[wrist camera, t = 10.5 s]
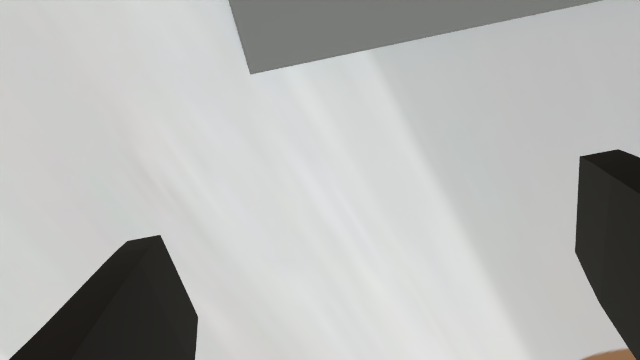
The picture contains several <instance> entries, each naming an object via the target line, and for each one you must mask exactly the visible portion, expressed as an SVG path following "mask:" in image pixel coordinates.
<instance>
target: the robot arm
mask: <svg viewBox="0 0 640 360" xmlns="http://www.w3.org/2000/svg"><path fill="white" fill-rule="evenodd" d="M575 253H576V255H577V257H578V259H579V261H580V263H581V266H582V268H583V270H584V272H585V274H586V276H587V279H588V281H589V283H590V285H591V287H592V289H593V291H594V293H595V295H596V297H597V299H598V301H599V303H600V304H601V306H602V308H603V309H604V311H605V312H606V314H607V315H608V317H609V319H610V320H611V322H612V323H613V325H614V326H615V328H616V329H617V331H618V332H619V334H620V335H621V337H622V338H623V340H624V342H625V343H626V345H627V346H628V348H629V349H630V351H631V352H632V354H633V355H634V357H635V358H636V360H640V158H639V157H637V156H634V155H632V154H629V153H627V152H624V151H621V150H612V151H607V152H602V153H596V154H591V155H586V156H580V163H579V184H578V204H577V225H576V245H575ZM197 324H198V316H197V314H196V312H195V309H194V307H193V305H192V303H191V301H190V298H189V296H188V294H187V292H186V290H185V288H184V285H183V283H182V281H181V279H180V277H179V275H178V272H177V270H176V268H175V266H174V264H173V262H172V259H171V257H170V255H169V253H168V251H167V248H166V246H165V244H164V242H163V240H162V238H161V235H157V236H152V237H147V238H141V239H136V240H131V241H127V242H126V243H125V244H124V245H123V246H121V247H120V248H119V249H118V250H117V251H116V252H115V253H114V254H113V255H112V256H111V257H110V258H109V259H108V260H107V261H106V262H105V263H104V264H103V265H102V266H101V267H100V268H99V269H98V270H97V271H96V272H95V273H94V274H93V275H92V276H91V277H90V278H89V280H88V281H87V282H86V283H85V284H84V285H83V286H82V287H81V288H80V289H79V290H78V291H77V292H76V293H75V294H74V295H73V296H72V297H71V298H70V299H69V300H68V301H67V302H66V303H65V304H64V306H63V307H62V308H61V309H60V310H59V311H58V312H57V313H56V314H55V315H54V316H53V317H52V318H51V319H50V320H49V321H48V322H47V323H46V324H45V325H44V326H43V327H42V328H41V329H40V330H39V331H38V332H37V333H36V334H35V335H34V336H33V337H32V338H31V339H30V340H29V341H28V342H27V343H26V344H25V345H24V346H23V347H22V348H21V349H20V350H18V351H17V352H16V353H15V354H14V355H13V356H12V357H11V358H10V359H9V360H195V351H196V339H197Z"/></svg>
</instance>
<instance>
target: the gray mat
mask: <svg viewBox="0 0 640 360" xmlns="http://www.w3.org/2000/svg"><path fill="white" fill-rule="evenodd" d="M597 1H602V0H229V3H230V6H231V10H232V13H233V17H234V20H235V24H236V27H237V30H238V34H239V37H240V41H241V44H242V48H243V51H244V54H245V58H246V61H247V65H248V68H249V71H250V74H255V73H259V72H264V71H269V70H274V69H278V68H283V67H288V66H293V65H297V64H302V63H307V62H312V61H317V60H321V59H326V58H331V57H336V56H340V55H345V54H350V53H355V52H359V51H364V50H369V49H374V48H378V47H383V46H388V45H393V44H397V43H402V42H407V41H412V40H416V39H421V38H426V37H431V36H435V35H440V34H445V33H450V32H454V31H459V30H464V29H469V28H473V27H478V26H483V25H488V24H492V23H497V22H502V21H507V20H511V19H516V18H521V17H526V16H530V15H535V14H540V13H545V12H549V11H554V10H559V9H564V8H568V7H573V6H578V5H583V4H587V3H592V2H597Z"/></svg>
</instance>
